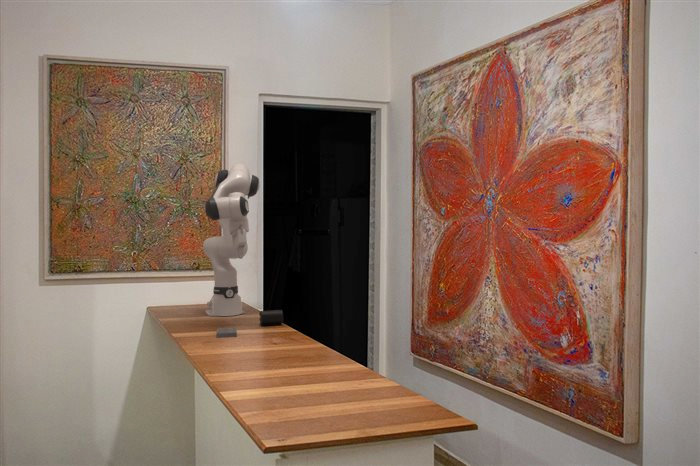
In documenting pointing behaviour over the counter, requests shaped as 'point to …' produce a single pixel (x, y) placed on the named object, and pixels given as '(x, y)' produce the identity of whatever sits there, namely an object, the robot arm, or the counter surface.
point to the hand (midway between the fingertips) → (241, 258)
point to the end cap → (271, 317)
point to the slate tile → (226, 332)
